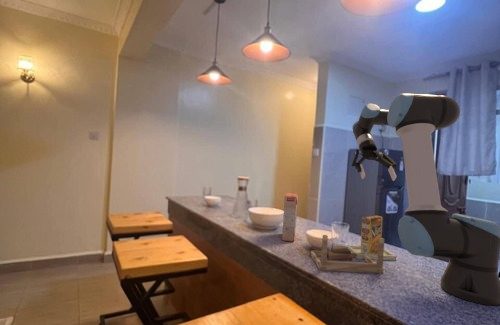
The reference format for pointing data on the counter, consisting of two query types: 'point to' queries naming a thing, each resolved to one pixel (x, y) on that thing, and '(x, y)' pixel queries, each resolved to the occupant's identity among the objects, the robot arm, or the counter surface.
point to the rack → (346, 254)
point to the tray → (357, 249)
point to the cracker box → (289, 217)
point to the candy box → (371, 234)
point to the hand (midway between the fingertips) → (379, 178)
